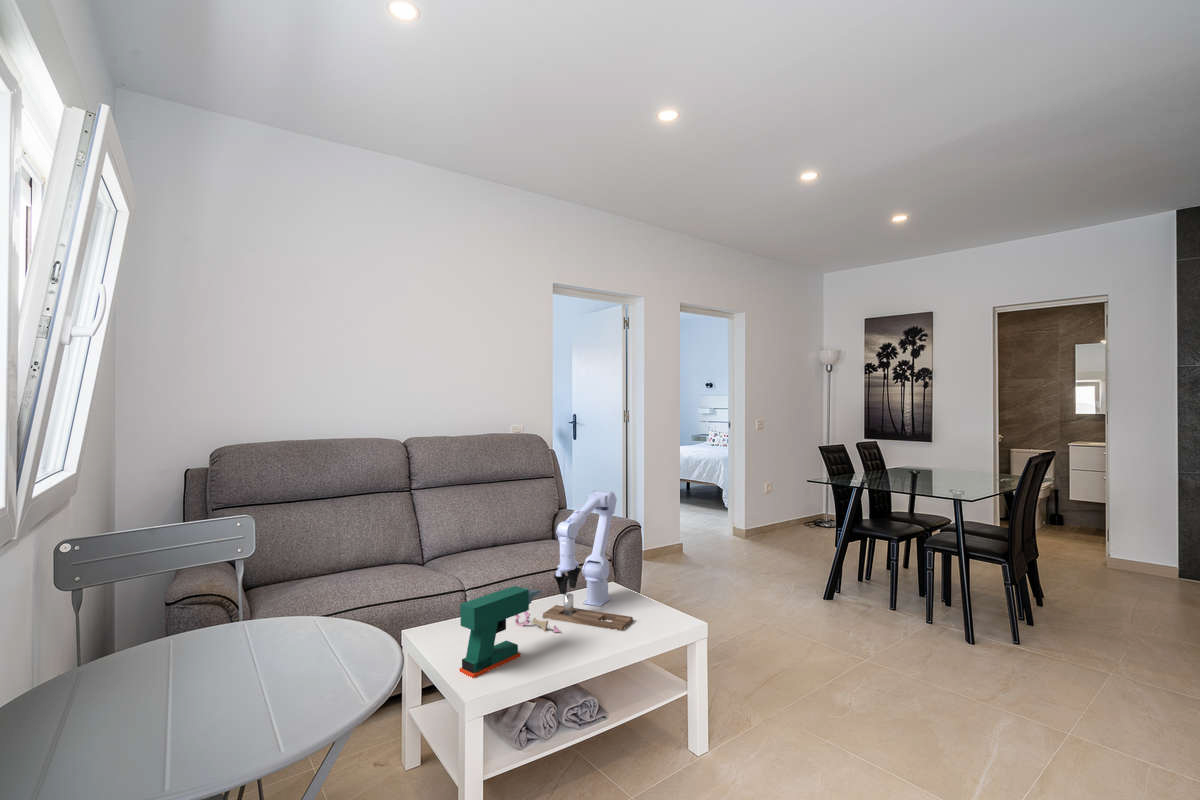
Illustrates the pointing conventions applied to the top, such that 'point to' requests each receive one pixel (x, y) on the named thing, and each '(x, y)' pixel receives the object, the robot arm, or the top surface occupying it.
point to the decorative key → (536, 622)
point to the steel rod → (568, 604)
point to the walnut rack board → (589, 617)
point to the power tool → (491, 628)
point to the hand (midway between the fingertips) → (567, 590)
